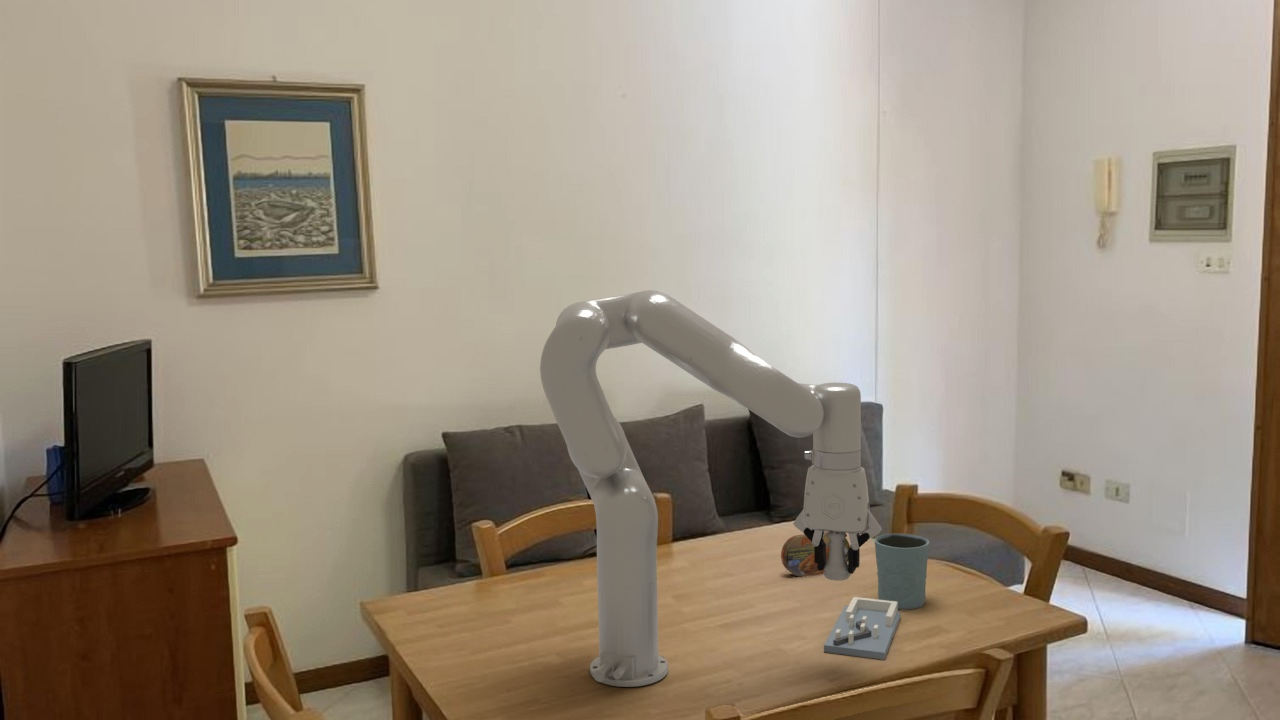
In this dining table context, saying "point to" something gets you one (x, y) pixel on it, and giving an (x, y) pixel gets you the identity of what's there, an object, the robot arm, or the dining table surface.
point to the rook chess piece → (836, 558)
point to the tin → (804, 555)
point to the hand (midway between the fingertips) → (836, 568)
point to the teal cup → (902, 569)
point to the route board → (864, 628)
